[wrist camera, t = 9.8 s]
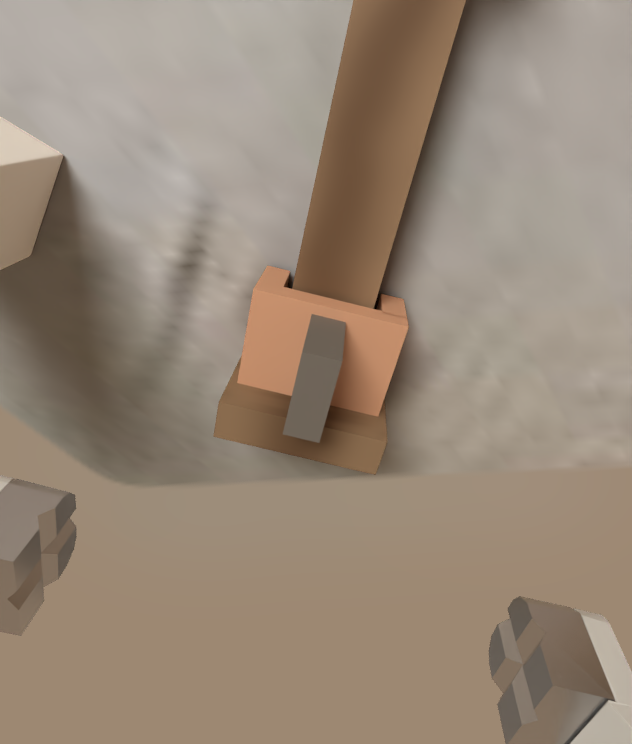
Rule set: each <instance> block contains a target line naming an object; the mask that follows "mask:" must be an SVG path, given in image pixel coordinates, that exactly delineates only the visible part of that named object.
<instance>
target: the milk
mask: <svg viewBox="0 0 632 744" xmlns="http://www.w3.org/2000/svg"><path fill="white" fill-rule="evenodd" d="M62 159H63V154H61V153H60V152H58V151H57V150H55V149H53V148H52V147H50V146H48V145H47V144H45V143H43V142H42V141H40V140H39V139H37V138H35V137H34V136H32V135H30V134H29V133H27V132H25V131H24V130H22V129H20V128H19V127H17V126H15V125H14V124H12V123H10V122H9V121H7V120H5V119H4V118H2V117H1V116H0V270H1V269H4V268H6V267H8V266H10V265H12V264H14V263H17V262H19V261H21V260H23V259H25V258H27V257H29V256H30V255H31V253H32V250H33V247H34V244H35V241H36V238H37V235H38V232H39V229H40V226H41V223H42V220H43V217H44V214H45V211H46V208H47V205H48V202H49V199H50V195H51V192H52V189H53V186H54V183H55V180H56V177H57V174H58V171H59V168H60V165H61V162H62Z"/></svg>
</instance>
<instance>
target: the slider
mask: <svg viewBox="0 0 632 744" xmlns="http://www.w3.org/2000/svg"><path fill="white" fill-rule="evenodd" d="M289 275H290V271H288V270H284V269H280V268H275V267H271V266H267V267H266V269H265V271H264V272H263V274H262V276H261V277H260V279H259V281H258V282H257V284H256V286H255V287H254V289H253V295H252V301H251V306H250V312H249V318H248V324H247V329H246V335H245V341H244V346H243V352H242V358H241V364H240V369H239V375H238V381H237V383H239V384H244V385H248V386H252V387H256V388H260V389H264V390H269V391H273V392H277V393H281V394H285V395H289V396H292V397H291V401H290V405H289V409H288V413H287V418H286V422H285V426H284V430H283V434H284V435H288V436H292V437H296V438H300V439H305V440H309V441H313V442H317V443H319V442H320V439H321V435H322V432H323V428H324V425H325V421H326V418H327V414H328V411H329V407H330V405H331V406H335V407H339V408H344V409H348V410H352V411H356V412H360V413H364V414H369V415H373V416H377V417H378V416H379V413H380V410H381V407H382V404H383V401H384V398H385V395H386V392H387V389H388V386H389V383H390V380H391V378H392V375H393V372H394V369H395V366H396V363H397V360H398V357H399V354H400V351H401V348H402V345H403V342H404V339H405V337H406V334H407V331H408V328H409V326H408V320H407V315H406V310H405V304H404V299H401V298H397V297H393V296H389V295H385V294H381V295H380V299H379V302H378V305H377V309H372V308H368V307H364V306H360V305H356V304H351V303H347V302H343V301H339V300H335V299H331V298H327V297H323V296H319V295H315V294H311V293H307V292H303V291H299V290H295V289H291V288H287V285H288V280H289Z"/></svg>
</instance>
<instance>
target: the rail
mask: <svg viewBox="0 0 632 744" xmlns="http://www.w3.org/2000/svg"><path fill="white" fill-rule="evenodd" d="M465 2H466V0H354V1H353V6H352V10H351V15H350V20H349V24H348V29H347V34H346V38H345V43H344V48H343V52H342V57H341V62H340V67H339V71H338V76H337V81H336V85H335V90H334V95H333V99H332V104H331V109H330V113H329V118H328V123H327V127H326V132H325V137H324V142H323V146H322V151H321V156H320V160H319V165H318V170H317V174H316V179H315V184H314V188H313V193H312V198H311V202H310V207H309V212H308V217H307V221H306V226H305V231H304V235H303V240H302V245H301V249H300V254H299V259H298V263H297V268H296V273H295V277H294V282H293V287H292V289H295V290H299V291H303V292H307V293H311V294H315V295H319V296H323V297H327V298H331V299H335V300H339V301H343V302H347V303H351V304H356V305H360V306H364V307H368V308H372V309H374V305H375V302H376V299H377V295H378V292H379V289H380V285H381V282H382V279H383V275H384V272H385V269H386V265H387V262H388V259H389V255H390V252H391V249H392V245H393V242H394V239H395V235H396V232H397V229H398V225H399V222H400V219H401V215H402V212H403V209H404V205H405V202H406V199H407V195H408V192H409V189H410V185H411V182H412V179H413V175H414V172H415V169H416V165H417V162H418V159H419V155H420V152H421V149H422V145H423V142H424V139H425V135H426V132H427V129H428V125H429V122H430V119H431V115H432V112H433V108H434V105H435V102H436V98H437V95H438V92H439V88H440V85H441V82H442V78H443V75H444V72H445V68H446V65H447V62H448V58H449V55H450V52H451V48H452V45H453V42H454V38H455V35H456V32H457V28H458V25H459V22H460V18H461V15H462V12H463V8H464V5H465ZM241 358H242V356H241ZM241 358H240V360H239V362H238V364H237V366H236V368H235V370H234V372H233V374H232V376H231V378H230V380H229V382H228V385H227V387H226V389H225V391H224V393H223V395H222V397H221V399H220V401H219V405H218V411H217V418H216V424H215V430H214V437H218V438H222V439H226V440H230V441H235V442H239V443H243V444H247V445H252V446H256V447H260V448H264V449H268V450H273V451H277V452H281V453H285V454H290V455H294V456H298V457H302V458H307V459H311V460H315V461H319V462H323V463H328V464H332V465H336V466H340V467H345V468H349V469H353V470H357V471H362V472H366V473H370V474H374V475H376V472H377V469H378V466H379V464H380V461H381V458H382V455H383V453H384V450H385V447H386V444H387V429H386V413H385V398H384V401H383V404H382V407H381V410H380V413H379V416H378V417H377V416H373V415H369V414H364V413H360V412H356V411H352V410H348V409H344V408H339V407H335V406H331V405H330V407H329V411H328V414H327V418H326V421H325V425H324V428H323V432H322V435H321V439H320V442H319V443H317V442H313V441H309V440H305V439H300V438H296V437H292V436H288V435H284V434H283V430H284V426H285V422H286V418H287V413H288V409H289V405H290V401H291V397H292V396H289V395H285V394H281V393H277V392H273V391H269V390H264V389H260V388H256V387H252V386H248V385H244V384H239V383H237V381H238V375H239V369H240V364H241Z"/></svg>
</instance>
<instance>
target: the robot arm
mask: <svg viewBox="0 0 632 744" xmlns="http://www.w3.org/2000/svg"><path fill="white" fill-rule="evenodd" d="M75 509H76V501H75V495H74V494H72V493H70V492H66V491H61V490H58V489H54V488H50V487H46V486H43V485H39V484H35V483H31V482H27V481H23V480H19V479H14V478H10V477H6V476H2V475H0V632H4V633H9V634H15V635H19V636H21V635H22V634H23V632H24V631H25V629H26V628H27V626H28V624H29V623H30V622H31V620H32V619H33V617H34V616H35V614H36V613H37V611H38V609H39V608H40V606H41V605H42V603H43V602H44V590H43V587H45V586H47V585H48V584H50V583H52V582H54V581H56V580H57V579H59V577H60V576H61V574H62V572H63V571H64V569H65V568H66V566H67V564H68V562H69V559H70V557H71V554H72V552H73V550H74V546H75V541H76V526H75V524H74V523H73V522H72V520H71V519H70V516H71V515H72V513H73V512H74V511H75ZM508 612H509V615H510V619H508V620H506V621H504V622H501V623H499V624H498V625H497V627H496V629H495V631H494V633H493V634H492V636H491V642H490V648H489V665H490V670H491V675H492V679H493V680H494V682H495V683H496V684H497V685H498V687H499V688H500V690H501V691H502V692H503V695H502V697H501V698H500V700H499V702H498V710H499V714H500V719H501V724H502V729H503V733H504V738H505V743H506V744H632V672H631V670H630V667H629V665H628V663H627V661H626V658H625V657H624V654H623V652H622V650H621V648H620V645H619V643H618V641H617V639H616V637H615V634H614V632H613V630H612V628H611V626H610V624H609V622H608V621H607V619H606V618H604V616H603V615H600V614H596V613H591V612H587V611H582V610H578V609H572V608H570V607H566V606H562V605H557V604H552V603H548V602H543V601H539V600H534V599H530V598H525V597H518V598H516V599H514V600H513V601H512V603H511V604H510V606H509V607H508Z"/></svg>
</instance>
